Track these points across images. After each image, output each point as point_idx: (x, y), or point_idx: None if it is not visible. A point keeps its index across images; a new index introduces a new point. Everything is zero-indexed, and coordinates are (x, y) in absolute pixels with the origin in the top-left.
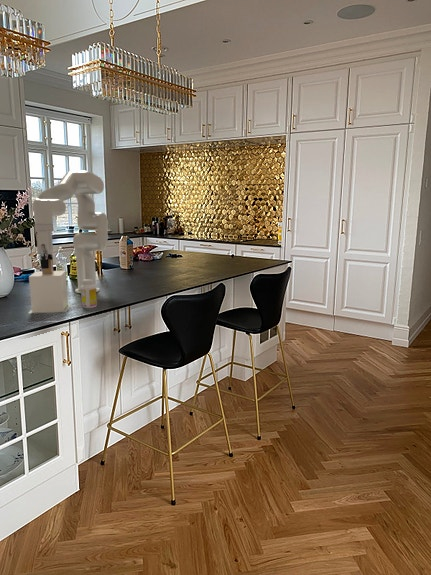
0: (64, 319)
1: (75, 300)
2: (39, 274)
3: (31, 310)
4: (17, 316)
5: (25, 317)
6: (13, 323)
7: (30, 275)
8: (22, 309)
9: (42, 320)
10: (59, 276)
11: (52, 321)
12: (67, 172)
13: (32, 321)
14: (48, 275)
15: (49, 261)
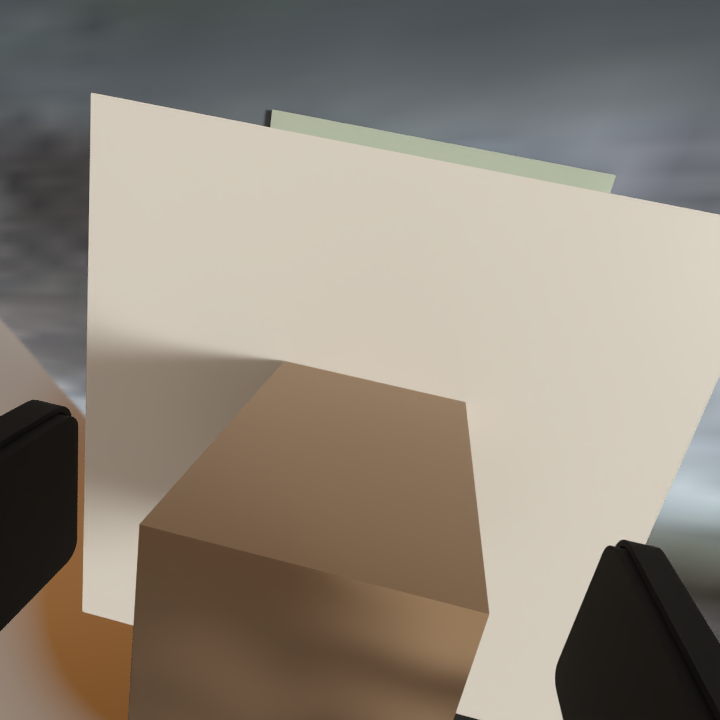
0: (59, 384)
1: (656, 520)
2: (289, 307)
3: (374, 138)
4: (225, 15)
5: (173, 96)
6: (5, 7)
7: (212, 121)
8: (497, 38)
9: (57, 237)
10: (91, 585)
11: (21, 306)
12: None
13: (41, 163)
14: (131, 453)
15: (142, 712)
